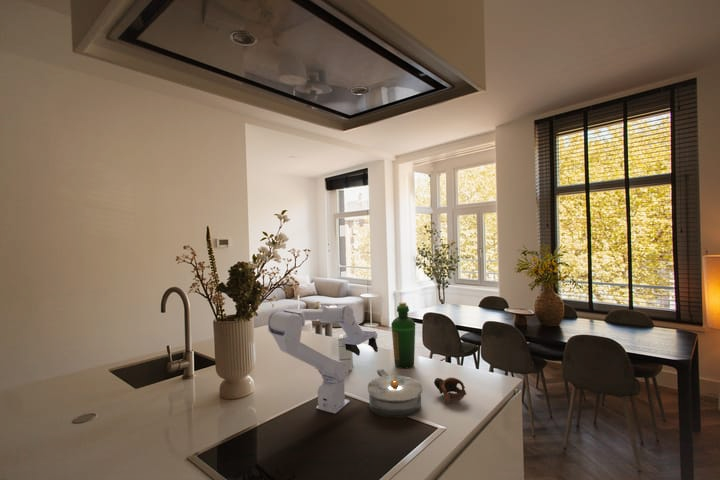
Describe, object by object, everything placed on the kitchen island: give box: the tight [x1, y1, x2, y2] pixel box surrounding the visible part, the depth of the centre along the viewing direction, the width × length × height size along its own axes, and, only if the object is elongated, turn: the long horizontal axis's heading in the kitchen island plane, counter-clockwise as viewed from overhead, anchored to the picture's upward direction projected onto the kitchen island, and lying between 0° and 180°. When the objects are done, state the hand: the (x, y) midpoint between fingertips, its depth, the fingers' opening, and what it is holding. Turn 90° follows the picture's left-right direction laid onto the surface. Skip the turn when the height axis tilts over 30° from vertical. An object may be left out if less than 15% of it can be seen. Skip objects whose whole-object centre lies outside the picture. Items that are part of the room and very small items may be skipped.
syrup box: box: [337, 333, 354, 371], centre depth 152 cm, size 6×6×14 cm
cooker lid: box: [367, 369, 423, 402], centre depth 121 cm, size 25×18×3 cm
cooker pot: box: [368, 393, 422, 419], centre depth 121 cm, size 24×18×5 cm
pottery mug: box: [433, 377, 467, 405], centre depth 122 cm, size 12×10×8 cm
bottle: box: [390, 302, 416, 370], centre depth 154 cm, size 11×11×28 cm
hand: (367, 351), depth 134 cm, fingers open, 7 cm apart
